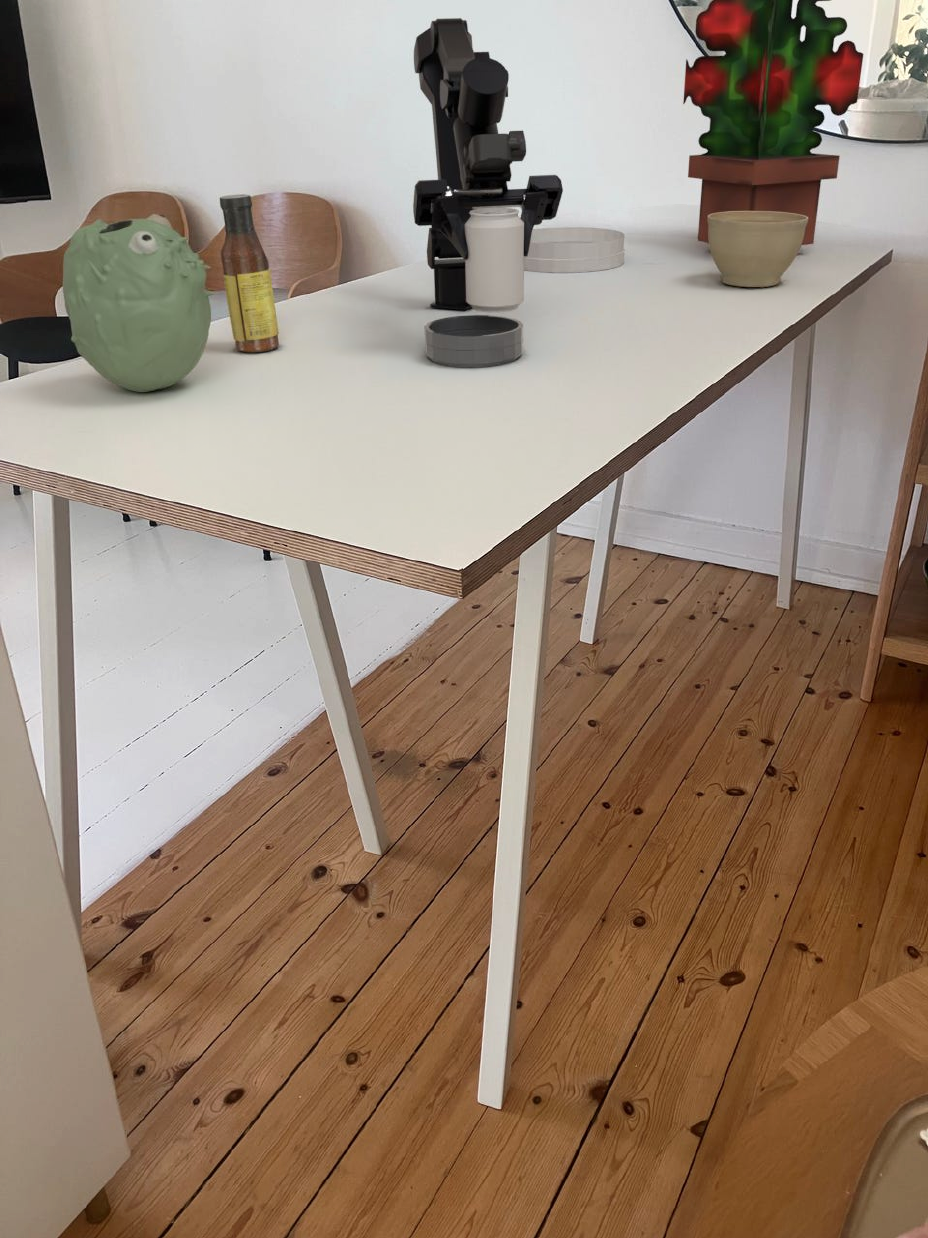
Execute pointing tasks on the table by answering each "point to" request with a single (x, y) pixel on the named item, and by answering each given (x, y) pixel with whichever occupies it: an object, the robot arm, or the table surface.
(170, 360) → the green pufferfish figure
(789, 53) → the potted plant
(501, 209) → the can
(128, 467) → the table surface
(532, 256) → the dish
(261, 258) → the sauce bottle
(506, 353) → the pan
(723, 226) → the planter bowl
